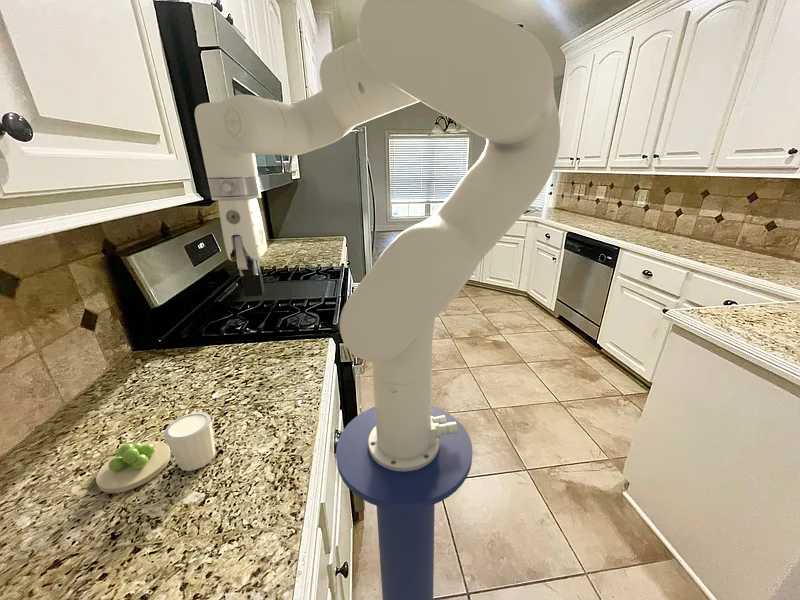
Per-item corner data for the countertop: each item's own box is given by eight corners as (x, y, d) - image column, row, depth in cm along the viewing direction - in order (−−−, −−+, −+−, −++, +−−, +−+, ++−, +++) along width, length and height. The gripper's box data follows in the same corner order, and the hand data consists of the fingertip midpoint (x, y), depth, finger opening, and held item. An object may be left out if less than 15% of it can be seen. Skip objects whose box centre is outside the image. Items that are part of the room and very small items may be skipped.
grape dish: (180, 441, 63) (173, 419, 61) (155, 486, 54) (146, 462, 52) (119, 450, 61) (110, 427, 60) (82, 499, 52) (70, 474, 50)
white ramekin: (207, 473, 56) (197, 439, 54) (165, 474, 56) (153, 440, 54) (226, 442, 62) (218, 410, 60) (188, 443, 62) (179, 411, 60)
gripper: (250, 190, 50) (270, 307, 57) (266, 187, 64) (280, 281, 70) (194, 192, 49) (221, 311, 55) (223, 188, 63) (242, 284, 69)
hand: (254, 294), depth 63 cm, fingers closed
